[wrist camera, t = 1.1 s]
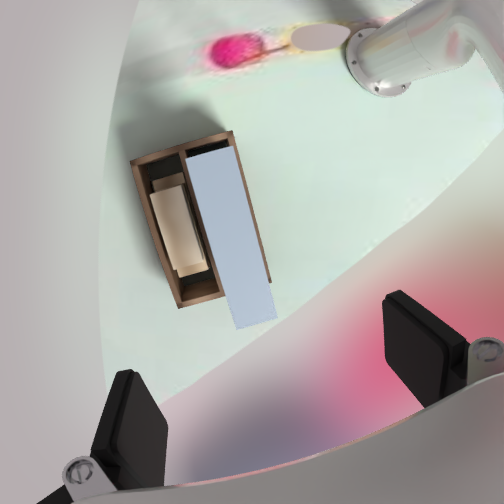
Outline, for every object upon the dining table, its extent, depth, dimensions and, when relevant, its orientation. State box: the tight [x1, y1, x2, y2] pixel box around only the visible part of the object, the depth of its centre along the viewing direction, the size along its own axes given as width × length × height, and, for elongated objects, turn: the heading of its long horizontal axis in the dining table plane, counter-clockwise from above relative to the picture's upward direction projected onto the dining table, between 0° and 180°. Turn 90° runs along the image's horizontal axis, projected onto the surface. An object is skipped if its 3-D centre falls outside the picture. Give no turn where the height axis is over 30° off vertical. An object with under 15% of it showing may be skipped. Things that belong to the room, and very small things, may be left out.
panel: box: [185, 146, 278, 330], centre depth 37 cm, size 4×16×20 cm, turn 14°
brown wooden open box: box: [130, 130, 272, 309], centre depth 43 cm, size 13×21×6 cm, turn 14°
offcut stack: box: [150, 172, 210, 278], centre depth 43 cm, size 4×14×8 cm, turn 14°
